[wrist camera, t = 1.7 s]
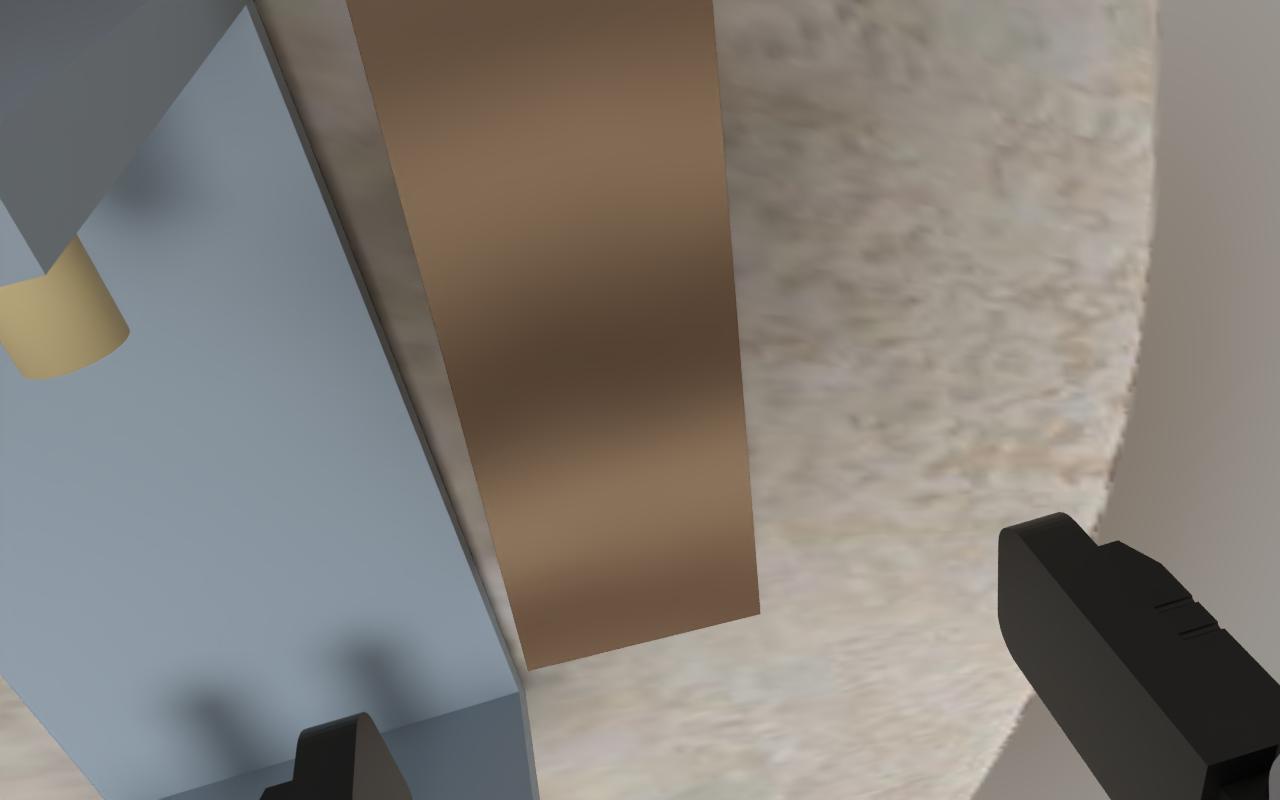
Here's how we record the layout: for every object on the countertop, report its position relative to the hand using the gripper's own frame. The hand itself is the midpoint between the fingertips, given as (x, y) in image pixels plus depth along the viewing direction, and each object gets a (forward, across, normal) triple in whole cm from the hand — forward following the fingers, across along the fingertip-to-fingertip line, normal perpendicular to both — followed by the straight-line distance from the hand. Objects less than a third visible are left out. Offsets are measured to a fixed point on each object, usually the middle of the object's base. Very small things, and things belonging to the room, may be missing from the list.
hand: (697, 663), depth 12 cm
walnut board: (+12, 0, 0) cm, 12 cm away
